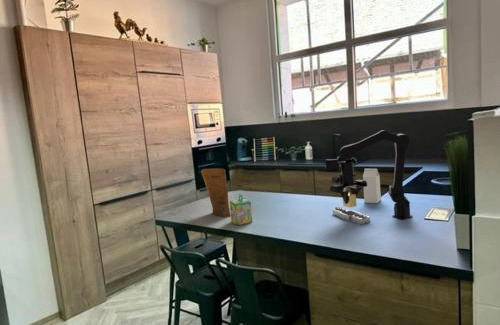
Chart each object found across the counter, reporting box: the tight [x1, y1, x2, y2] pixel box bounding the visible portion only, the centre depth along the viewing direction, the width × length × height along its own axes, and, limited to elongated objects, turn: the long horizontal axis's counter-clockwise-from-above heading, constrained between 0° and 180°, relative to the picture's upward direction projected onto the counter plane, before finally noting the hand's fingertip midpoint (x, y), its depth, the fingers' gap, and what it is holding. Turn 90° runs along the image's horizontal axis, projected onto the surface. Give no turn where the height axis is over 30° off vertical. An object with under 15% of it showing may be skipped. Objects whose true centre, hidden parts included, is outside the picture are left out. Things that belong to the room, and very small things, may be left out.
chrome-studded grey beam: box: [332, 206, 371, 225], centre depth 167 cm, size 22×8×3 cm, turn 23°
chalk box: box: [229, 193, 253, 226], centre depth 178 cm, size 9×9×15 cm
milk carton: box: [362, 168, 382, 204], centre depth 191 cm, size 7×7×19 cm
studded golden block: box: [342, 192, 357, 208], centre depth 166 cm, size 5×4×7 cm
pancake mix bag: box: [200, 167, 231, 218], centre depth 195 cm, size 7×19×28 cm, turn 45°
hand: (349, 202), depth 166 cm, fingers closed on studded golden block, 4 cm apart
